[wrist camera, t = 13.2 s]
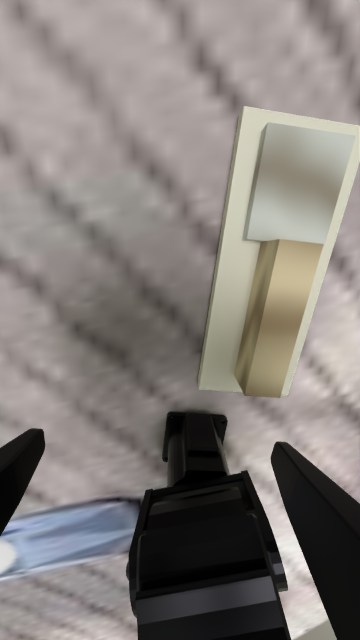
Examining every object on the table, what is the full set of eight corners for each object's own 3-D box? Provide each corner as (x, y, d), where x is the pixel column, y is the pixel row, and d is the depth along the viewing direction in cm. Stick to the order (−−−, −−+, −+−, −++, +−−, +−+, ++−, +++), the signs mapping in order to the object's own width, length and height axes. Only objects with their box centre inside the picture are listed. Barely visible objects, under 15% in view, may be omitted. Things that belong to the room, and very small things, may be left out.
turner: (279, 378, 20) (297, 398, 17) (218, 374, 20) (226, 394, 17) (343, 143, 15) (386, 115, 12) (261, 131, 14) (284, 99, 11)
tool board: (281, 388, 22) (287, 395, 21) (197, 382, 21) (199, 389, 20) (355, 137, 15) (370, 127, 14) (238, 117, 15) (244, 106, 14)
